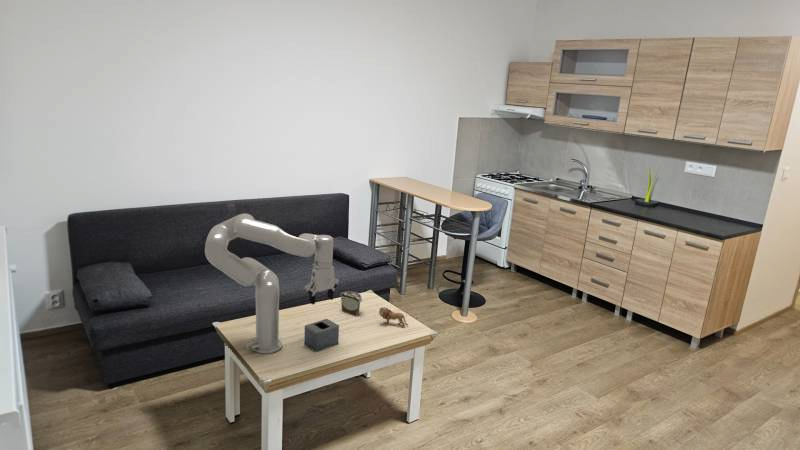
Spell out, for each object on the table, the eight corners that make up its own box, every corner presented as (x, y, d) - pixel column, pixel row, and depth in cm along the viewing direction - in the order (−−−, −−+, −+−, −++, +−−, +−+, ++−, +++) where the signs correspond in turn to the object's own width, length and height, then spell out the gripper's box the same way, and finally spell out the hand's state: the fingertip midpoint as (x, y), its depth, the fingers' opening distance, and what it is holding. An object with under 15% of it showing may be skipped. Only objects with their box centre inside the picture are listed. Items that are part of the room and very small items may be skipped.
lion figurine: (377, 326, 255) (378, 309, 253) (378, 321, 260) (379, 304, 258) (408, 328, 255) (409, 311, 253) (408, 323, 260) (409, 306, 258)
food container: (366, 313, 269) (366, 295, 266) (358, 317, 263) (359, 298, 261) (346, 307, 275) (347, 289, 272) (339, 310, 270) (340, 292, 267)
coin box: (316, 352, 227) (316, 332, 225) (304, 344, 233) (304, 325, 231) (338, 343, 235) (339, 325, 233) (326, 336, 241) (326, 318, 239)
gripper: (311, 269, 216) (309, 308, 220) (344, 263, 228) (342, 299, 232) (301, 264, 221) (299, 302, 225) (334, 258, 233) (331, 294, 237)
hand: (321, 301), depth 229 cm, fingers open, 9 cm apart
